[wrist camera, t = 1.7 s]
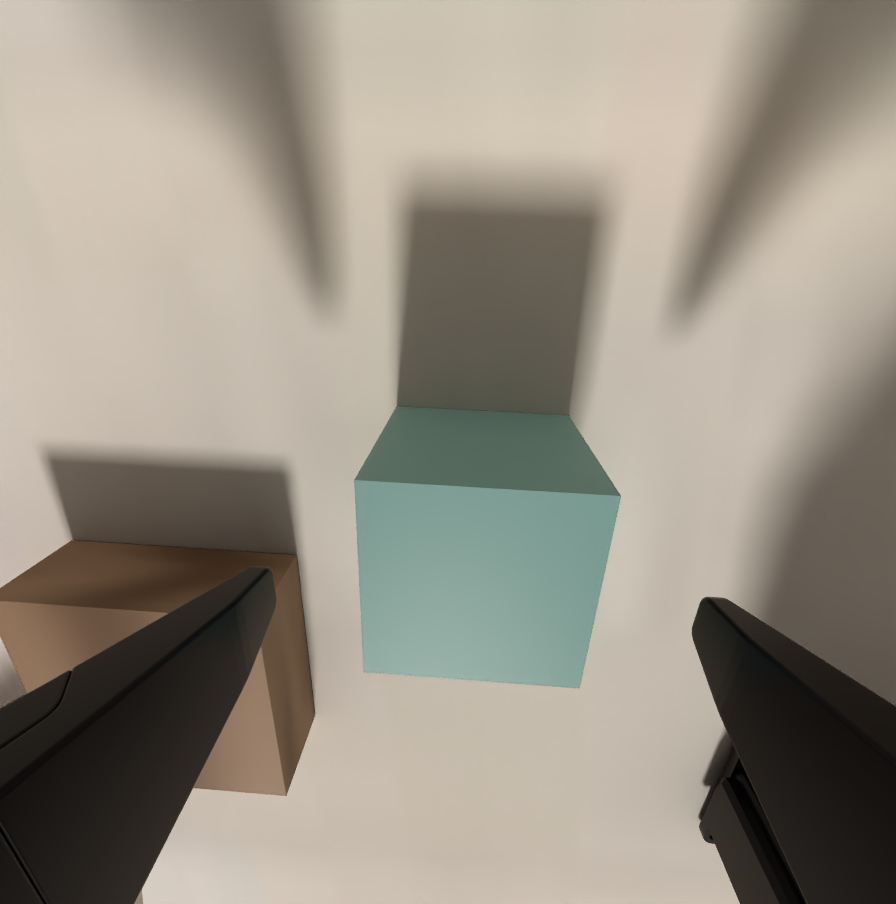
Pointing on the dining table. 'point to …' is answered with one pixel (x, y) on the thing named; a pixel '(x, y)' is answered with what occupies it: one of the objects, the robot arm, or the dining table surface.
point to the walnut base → (146, 600)
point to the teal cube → (481, 546)
